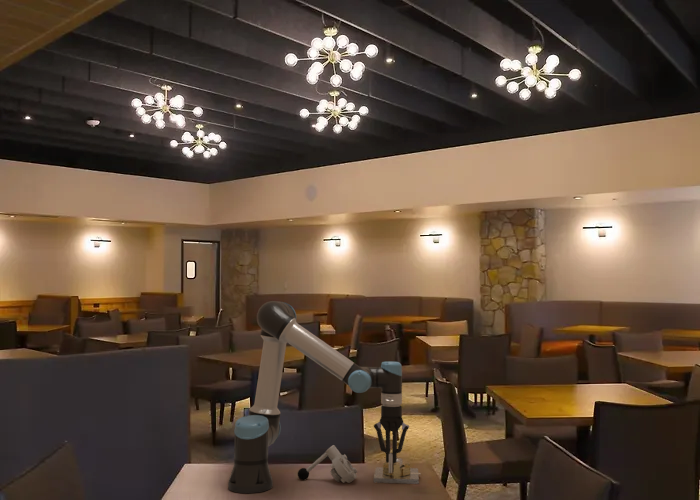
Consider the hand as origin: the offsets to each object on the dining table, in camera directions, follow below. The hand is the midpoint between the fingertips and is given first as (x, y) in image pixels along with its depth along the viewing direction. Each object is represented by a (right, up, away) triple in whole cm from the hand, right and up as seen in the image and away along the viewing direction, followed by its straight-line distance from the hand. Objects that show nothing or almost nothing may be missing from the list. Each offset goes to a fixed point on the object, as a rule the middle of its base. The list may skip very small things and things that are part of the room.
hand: (391, 472), depth 218 cm
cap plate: (+2, -4, +6) cm, 8 cm away
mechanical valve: (-23, -4, +1) cm, 24 cm away
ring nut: (+2, -2, +4) cm, 6 cm away
